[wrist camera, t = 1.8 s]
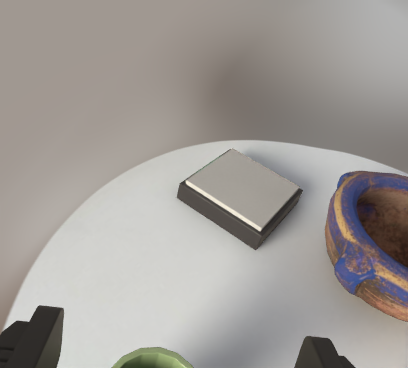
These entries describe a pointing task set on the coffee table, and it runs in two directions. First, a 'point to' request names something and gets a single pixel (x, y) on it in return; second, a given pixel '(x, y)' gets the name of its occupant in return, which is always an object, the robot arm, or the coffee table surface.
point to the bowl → (371, 239)
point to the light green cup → (152, 359)
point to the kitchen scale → (240, 196)
